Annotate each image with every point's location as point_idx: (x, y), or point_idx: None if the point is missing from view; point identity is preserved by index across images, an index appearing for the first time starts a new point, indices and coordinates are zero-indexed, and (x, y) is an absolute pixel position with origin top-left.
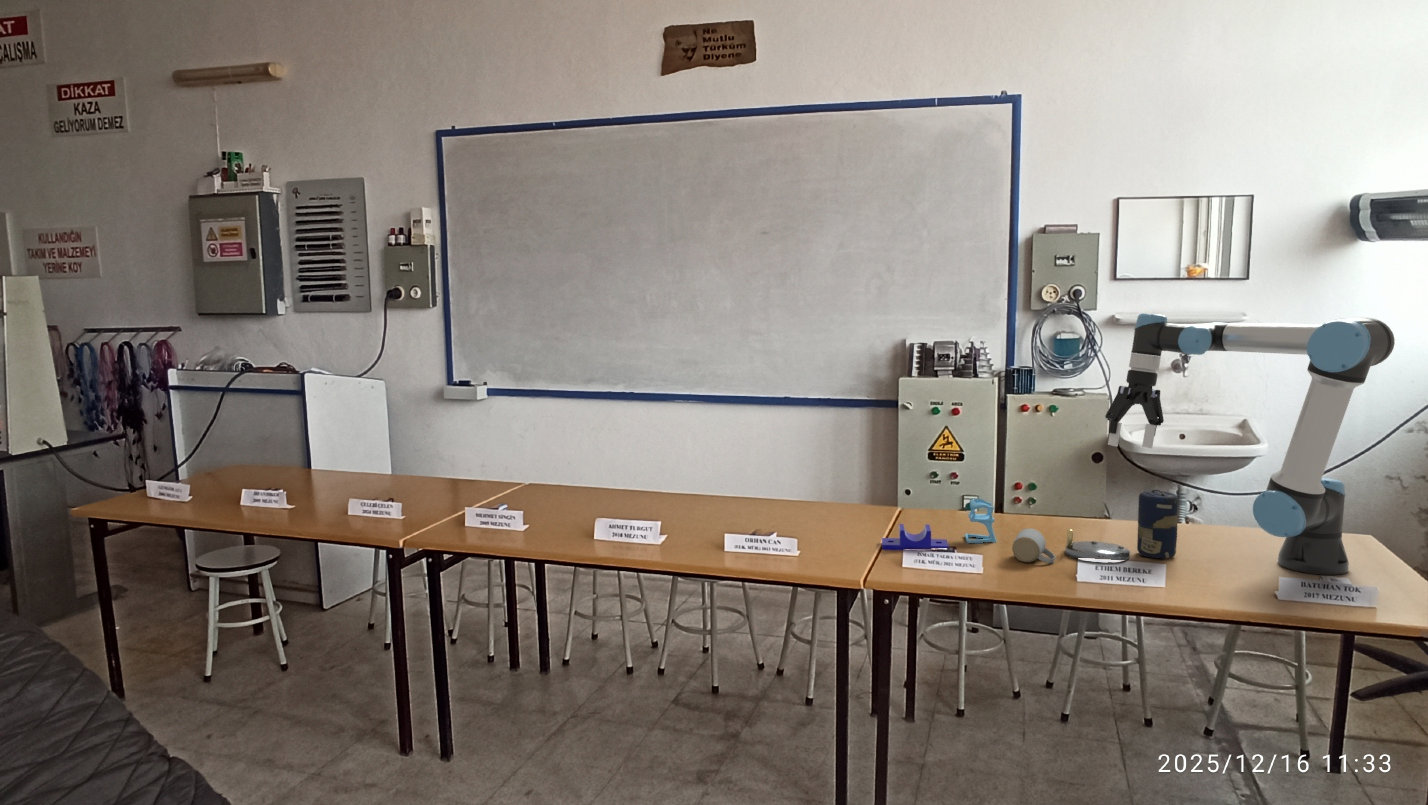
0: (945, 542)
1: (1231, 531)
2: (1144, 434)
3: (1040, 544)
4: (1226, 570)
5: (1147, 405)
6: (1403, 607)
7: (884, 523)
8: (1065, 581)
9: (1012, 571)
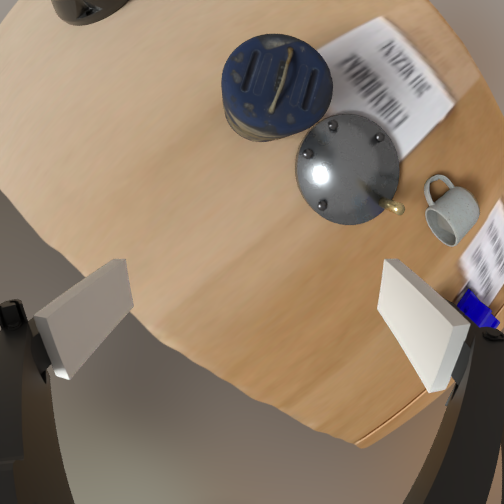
0: (462, 307)
1: (25, 182)
2: (103, 337)
3: (459, 193)
4: (228, 4)
5: (36, 487)
6: None
7: (417, 402)
8: (464, 113)
9: (481, 182)
